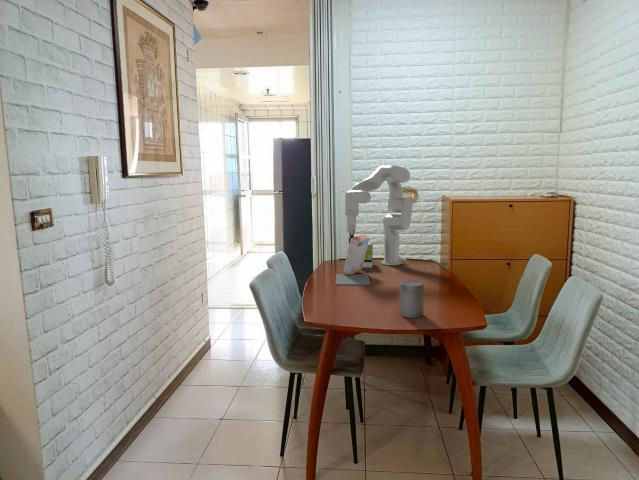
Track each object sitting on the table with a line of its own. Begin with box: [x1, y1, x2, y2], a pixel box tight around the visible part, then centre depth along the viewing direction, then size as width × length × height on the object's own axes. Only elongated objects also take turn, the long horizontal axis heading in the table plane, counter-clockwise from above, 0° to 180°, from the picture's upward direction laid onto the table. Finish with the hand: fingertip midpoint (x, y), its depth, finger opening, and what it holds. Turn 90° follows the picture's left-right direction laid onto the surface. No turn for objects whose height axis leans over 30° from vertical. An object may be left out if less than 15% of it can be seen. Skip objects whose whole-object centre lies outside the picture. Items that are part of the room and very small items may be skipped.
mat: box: [335, 273, 371, 286], centre depth 256 cm, size 18×23×1 cm
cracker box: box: [342, 234, 370, 275], centre depth 268 cm, size 14×6×21 cm, turn 149°
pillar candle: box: [399, 279, 425, 319], centre depth 193 cm, size 10×10×15 cm
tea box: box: [362, 240, 374, 269], centre depth 294 cm, size 15×10×15 cm
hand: (351, 244), depth 269 cm, fingers closed
